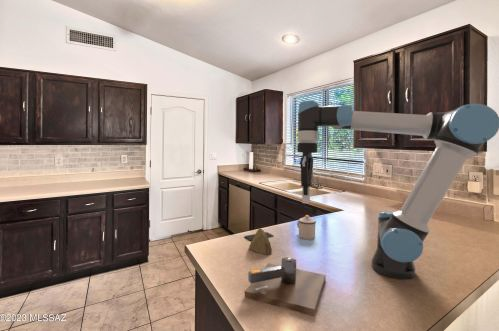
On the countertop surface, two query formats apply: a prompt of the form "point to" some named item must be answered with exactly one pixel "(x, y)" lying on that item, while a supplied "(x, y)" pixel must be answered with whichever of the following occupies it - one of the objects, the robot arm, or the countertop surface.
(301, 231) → the cream lidded jar
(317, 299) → the base board
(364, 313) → the countertop surface
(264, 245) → the rock
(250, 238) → the phone
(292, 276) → the grey mallet
